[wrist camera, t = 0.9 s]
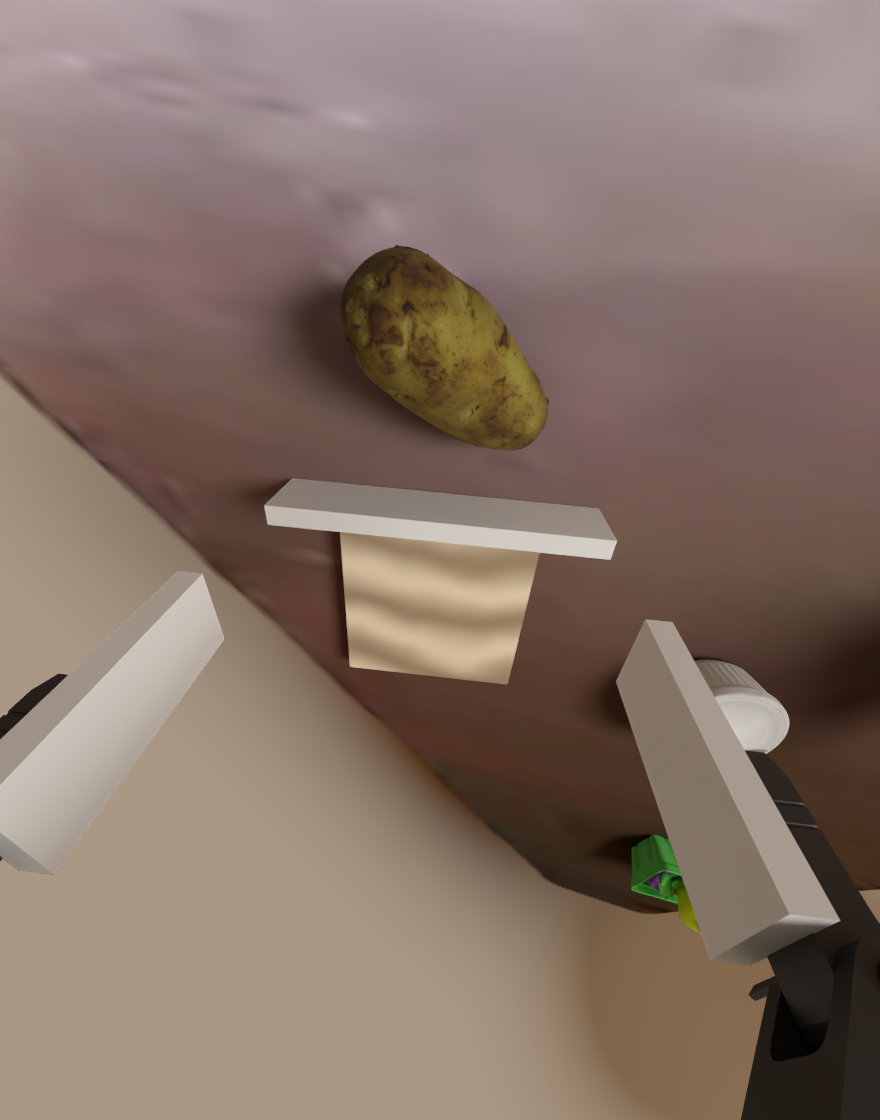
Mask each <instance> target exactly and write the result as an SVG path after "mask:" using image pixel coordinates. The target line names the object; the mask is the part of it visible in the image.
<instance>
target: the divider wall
mask: <svg viewBox="0 0 880 1120" xmlns="http://www.w3.org/2000/svg"><path fill="white" fill-rule="evenodd" d="M264 507H265V513H266V518H267V524H268V525H276V526H286V527H295V528H305V529H315V530H325V531H335V532H344V533H354V534H364V535H374V536H383V537H393V538H403V539H413V540H423V541H432V542H442V543H452V544H462V545H471V546H481V547H491V548H501V549H511V550H520V551H530V552H540V553H550V554H559V555H569V556H579V557H589V558H599V559H608V560H610V559H611V557H612V554H613V551H614V548H615V546H616V543H617V540H616V538H615V536H614V535H613V533H612V531H611V529H610V527H609V526H608V524H607V522H606V520H605V519H604V517H603V515H602V513H601V512H600V510H599V508H590V507H580V506H570V505H560V504H550V503H539V502H529V501H519V500H509V499H499V498H489V497H479V496H468V495H458V494H448V493H438V492H428V491H418V490H408V489H398V488H387V487H377V486H367V485H357V484H347V483H337V482H327V481H316V480H306V479H296V478H292V479H291V480H290V481H289V482H288V483H287V484H286V485H285V486H284V487H283V488H282V489H281V490H280V491H278V492H277V493H276V494H275V495H274V496H273V497H272V498H271V499H270V500H269V501H268V502H267V503H266V504H265V505H264Z"/></svg>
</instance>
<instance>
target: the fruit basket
mask: <svg viewBox="0 0 880 1120" xmlns="http://www.w3.org/2000/svg"><path fill="white" fill-rule="evenodd" d="M631 850H632V880H631V889H632V890H633V891H635V892H639V893H642V894H646V895H650V896H653V897H657V898H660V899H664V900H667V901H671V902H674V903H678V910H679V917H680V918H681V920H682V921H683V922H684V923H685V924H686V925H687V926H688V927H690V928H693V929H694V930H695V931H697V932H698V933H701V932H700V929H699V926H698V923H697V920H696V917H695V914H694V911H693V908H692V905H691V902H690V899H689V896H688V893H687V890H686V887H685V885H684V882H683V879H682V876H681V873H680V870H679V867H678V864H677V861H676V858H675V855H674V852H673V849H672V846H671V843H670V840H669V839H666V838H663V837H661V836H657V835H654V834H653V835H651V836H650V837H649V838H646V839H644V840H643V841H641V842H640V843H638V844H637V846H634V847H632V848H631Z"/></svg>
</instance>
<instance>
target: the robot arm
mask: <svg viewBox="0 0 880 1120" xmlns="http://www.w3.org/2000/svg"><path fill="white" fill-rule="evenodd" d="M223 640H224V636H223V633H222V630H221V627H220V624H219V621H218V618H217V615H216V612H215V610H214V606H213V604H212V601H211V597H210V594H209V592H208V589H207V586H206V583H205V580H204V577H203V574H200V573H190V572H181V571H177V572H176V573H175V574H174V575H173V576H172V577H171V578H170V579H169V580H168V581H167V582H166V583H165V584H163V585H162V586H161V588H159V590H157V591H156V592H155V593H154V594H153V595H152V596H151V597H150V598H149V599H148V600H147V601H146V602H145V603H144V604H142V605H141V606H140V607H139V608H138V609H137V610H136V611H135V612H134V613H133V614H132V615H131V616H130V617H129V618H128V619H127V620H126V621H125V622H123V623H122V624H121V625H120V626H119V627H118V628H117V629H116V630H115V631H114V632H113V633H112V634H111V635H110V636H109V637H108V638H107V639H106V640H105V641H104V642H103V643H101V644H100V645H99V646H98V647H97V648H96V649H95V650H94V651H93V652H92V653H91V654H90V655H89V656H88V657H87V658H86V659H85V660H84V661H82V662H81V663H80V664H79V665H78V666H77V667H76V668H75V669H74V670H73V671H72V672H71V673H70V674H69V675H64V674H57V675H56V676H54V677H52V678H51V679H49V680H47V681H46V682H44V683H43V684H41V685H39V686H37V687H36V688H34V689H32V690H31V691H30V692H29V693H28V694H26V695H25V696H24V697H23V698H22V699H21V700H20V701H19V702H18V703H16V704H15V705H14V706H13V707H12V708H11V709H10V710H9V711H8V714H7V715H3V716H2V717H1V718H0V861H1V860H2V859H3V860H5V861H6V862H7V863H9V864H10V865H12V866H13V867H15V868H16V869H17V870H19V871H27V872H34V873H42V874H50V875H55V873H56V872H57V871H58V869H59V868H60V866H61V865H62V864H63V862H64V861H65V860H66V858H67V857H68V855H69V854H70V853H71V851H72V850H73V849H74V847H75V846H76V844H77V843H78V842H79V840H80V839H81V837H82V836H83V835H84V833H85V832H86V831H87V829H88V828H89V826H90V825H91V824H92V822H93V821H94V819H95V818H96V817H97V815H98V814H99V812H100V811H101V810H102V808H103V807H104V806H105V804H106V803H107V801H108V800H109V799H110V797H111V796H112V794H113V793H114V792H115V790H116V789H117V788H118V786H119V785H120V783H121V782H122V781H123V779H124V778H125V776H126V775H127V774H128V772H129V771H130V769H131V768H132V767H133V765H134V763H136V761H137V760H138V758H139V757H140V756H141V754H142V753H143V751H144V750H145V749H146V747H147V746H148V744H149V743H150V742H151V740H152V739H153V738H154V736H155V735H156V733H157V732H158V731H159V729H160V728H161V726H162V725H163V724H164V722H165V721H166V719H167V718H168V717H169V715H170V714H171V712H172V711H173V710H174V708H175V707H176V706H177V704H178V703H179V701H180V700H181V699H182V697H183V696H184V694H185V693H186V692H187V690H188V689H189V688H190V686H191V685H192V683H193V682H194V680H195V679H196V678H197V676H198V675H199V674H200V672H201V671H202V669H203V668H204V667H205V665H206V664H207V663H208V661H209V660H210V658H211V657H212V656H213V654H214V653H215V651H216V650H217V649H218V647H219V646H220V644H221V643H222V642H223ZM616 683H617V686H618V689H619V692H620V695H621V698H622V701H623V704H624V707H625V710H626V713H627V716H628V719H629V722H630V725H631V728H632V731H633V734H634V737H635V740H636V742H637V745H638V748H639V751H640V754H641V757H642V760H643V763H644V766H645V769H646V772H647V775H648V778H649V781H650V784H651V787H652V790H653V793H654V796H655V799H656V802H657V805H658V808H659V811H660V813H661V816H662V819H663V822H664V825H665V828H666V831H667V834H668V837H669V840H670V843H671V846H672V849H673V852H674V855H675V858H676V861H677V864H678V867H679V870H680V873H681V876H682V879H683V882H684V885H685V887H686V890H687V893H688V896H689V899H690V902H691V905H692V908H693V911H694V914H695V917H696V920H697V923H698V926H699V929H700V932H701V934H702V938H703V941H704V944H705V947H706V949H707V952H708V956H709V958H710V960H712V961H719V962H728V963H735V964H743V965H752V964H755V963H757V962H759V961H760V960H763V959H765V958H767V957H768V960H769V962H770V964H771V967H772V969H773V971H774V974H775V976H774V977H772V978H770V979H767V980H765V981H763V982H760V983H758V984H756V985H754V987H753V988H752V990H751V992H750V993H749V996H751V998H752V999H754V1000H755V1001H756V1000H759V999H761V998H764V997H766V996H767V999H766V1004H765V1009H764V1013H763V1018H762V1023H761V1028H760V1032H759V1037H758V1042H757V1046H756V1051H755V1056H754V1060H753V1065H752V1070H751V1074H750V1079H749V1084H748V1088H747V1093H746V1098H745V1102H744V1107H743V1112H742V1117H741V1120H880V924H879V922H878V921H877V920H876V918H875V917H874V915H873V913H872V912H871V910H870V909H869V907H868V905H867V904H866V902H865V900H864V899H863V897H862V896H861V894H860V893H859V891H858V889H857V888H856V886H855V884H854V883H853V881H852V880H851V878H850V876H849V875H848V873H847V871H846V870H845V868H844V867H843V865H842V863H841V862H840V860H839V859H838V857H837V855H836V854H835V852H834V851H833V849H832V847H831V846H830V844H829V842H828V841H827V839H826V838H825V836H824V834H823V833H822V831H819V830H818V828H817V823H816V821H815V820H814V818H813V817H812V815H811V813H810V812H809V810H808V809H807V808H805V807H804V805H803V803H804V802H803V801H802V799H801V797H800V796H799V794H798V792H797V791H796V789H795V788H794V786H793V784H792V783H791V781H790V780H789V778H788V776H787V775H786V774H785V773H784V772H783V771H782V770H781V769H780V768H779V767H778V766H777V765H776V764H775V763H774V762H773V761H772V760H771V759H770V758H769V757H768V756H767V755H766V754H765V753H764V752H755V751H747V750H744V748H743V747H742V745H741V743H740V741H739V740H738V738H737V736H736V734H735V733H734V731H733V729H732V727H731V725H730V724H729V722H728V720H727V718H726V717H725V715H724V713H723V711H722V709H721V708H720V706H719V704H718V702H717V701H716V699H715V697H714V695H713V693H712V692H711V690H710V688H709V686H708V685H707V683H706V681H705V679H704V677H703V676H702V674H701V672H700V670H699V669H698V667H697V665H696V663H695V661H694V660H693V658H692V656H691V654H690V653H689V651H688V649H687V647H686V646H685V644H684V642H683V640H682V638H681V637H680V635H679V633H678V631H677V630H676V628H675V626H674V624H673V622H665V621H656V620H645V622H644V624H643V626H642V628H641V630H640V632H639V634H638V636H637V638H636V640H635V643H634V645H633V647H632V649H631V651H630V653H629V655H628V657H627V659H626V661H625V663H624V666H623V668H622V670H621V672H620V674H619V676H618V678H617V680H616Z"/></svg>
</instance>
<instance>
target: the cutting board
mask: <svg viewBox="0 0 880 1120" xmlns="http://www.w3.org/2000/svg"><path fill="white" fill-rule="evenodd" d="M340 540H341V553H342V567H343V580H344V594H345V607H346V620H347V634H348V647H349V660H350V667H357V668H366V669H375V670H384V671H393V672H401V673H410V674H419V675H428V676H437V677H446V678H455V679H464V680H473V681H482V682H491V683H500V684H508V681H509V676H510V672H511V668H512V664H513V660H514V656H515V652H516V648H517V643H518V639H519V635H520V631H521V627H522V623H523V619H524V615H525V610H526V606H527V602H528V598H529V594H530V590H531V586H532V582H533V577H534V573H535V569H536V565H537V561H538V557H539V553H540V552H530V551H520V550H511V549H501V548H491V547H481V546H471V545H462V544H452V543H442V542H432V541H423V540H413V539H403V538H393V537H383V536H374V535H364V534H354V533H344V532H340Z"/></svg>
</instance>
